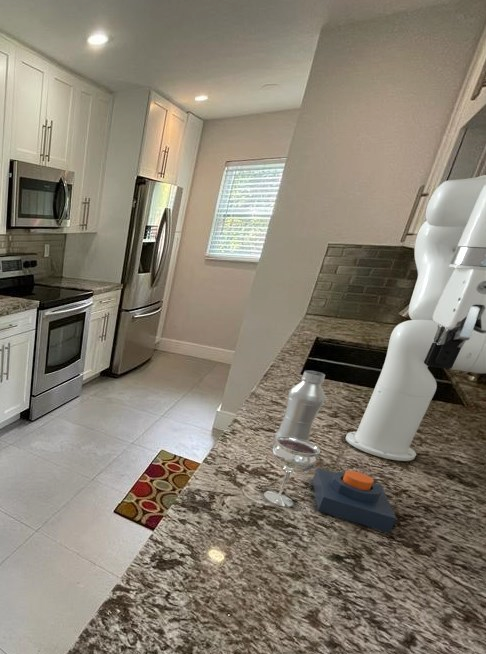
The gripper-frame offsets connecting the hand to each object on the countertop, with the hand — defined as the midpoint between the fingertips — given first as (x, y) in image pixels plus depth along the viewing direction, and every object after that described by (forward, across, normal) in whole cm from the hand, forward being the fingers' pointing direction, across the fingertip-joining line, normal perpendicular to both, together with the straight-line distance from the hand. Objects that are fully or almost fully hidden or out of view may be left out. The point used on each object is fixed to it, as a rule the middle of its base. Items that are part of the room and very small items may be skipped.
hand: (436, 366), depth 73 cm
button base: (+27, -9, +6) cm, 29 cm away
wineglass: (+27, -15, +17) cm, 36 cm away
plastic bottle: (+27, +8, +15) cm, 32 cm away
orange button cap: (+23, -9, +6) cm, 25 cm away
